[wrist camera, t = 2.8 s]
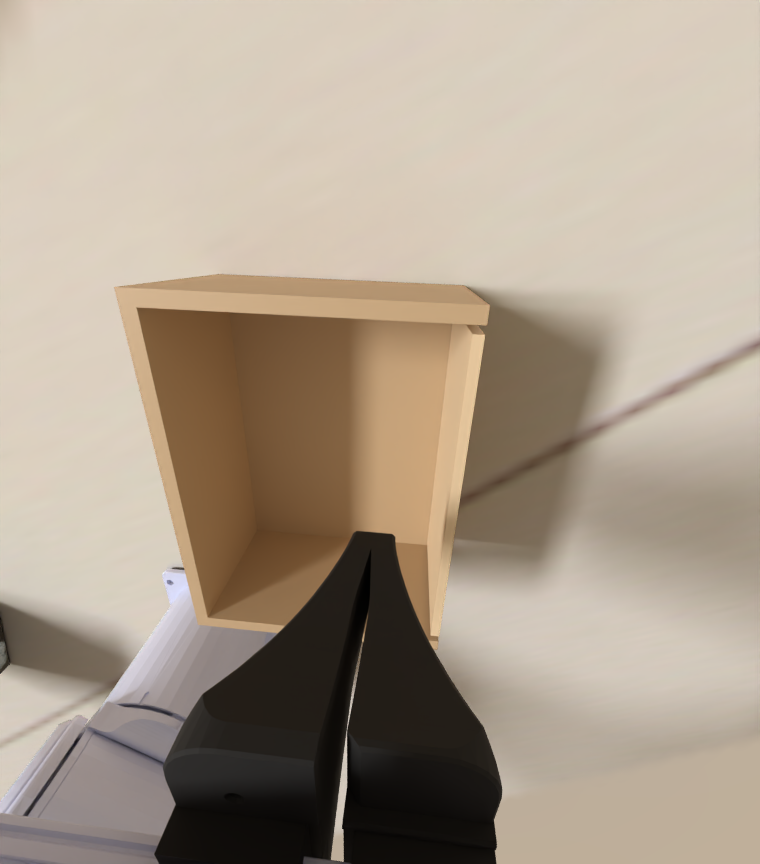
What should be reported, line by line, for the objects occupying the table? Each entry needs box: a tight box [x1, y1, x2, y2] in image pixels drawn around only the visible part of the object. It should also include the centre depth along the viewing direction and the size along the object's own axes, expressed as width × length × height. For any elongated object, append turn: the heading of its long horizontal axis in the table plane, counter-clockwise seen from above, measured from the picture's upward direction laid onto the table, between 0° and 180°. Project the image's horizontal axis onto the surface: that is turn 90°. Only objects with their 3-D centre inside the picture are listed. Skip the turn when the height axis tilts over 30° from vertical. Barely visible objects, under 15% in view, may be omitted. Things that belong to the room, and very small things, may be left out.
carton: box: [114, 274, 490, 650], centre depth 19 cm, size 16×12×7 cm
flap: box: [427, 324, 485, 636], centre depth 18 cm, size 14×1×6 cm, turn 178°
